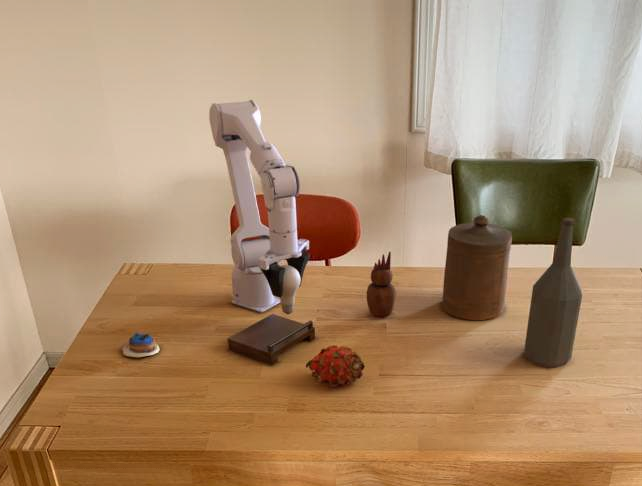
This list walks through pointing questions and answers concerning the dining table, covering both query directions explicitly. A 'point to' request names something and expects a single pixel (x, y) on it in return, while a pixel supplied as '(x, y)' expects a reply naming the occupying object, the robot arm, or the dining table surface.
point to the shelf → (270, 338)
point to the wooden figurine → (381, 289)
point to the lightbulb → (289, 288)
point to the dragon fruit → (337, 365)
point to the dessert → (140, 346)
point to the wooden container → (476, 270)
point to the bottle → (554, 307)
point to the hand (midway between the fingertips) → (286, 290)
